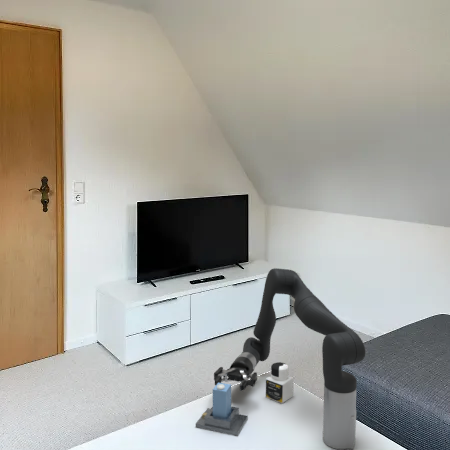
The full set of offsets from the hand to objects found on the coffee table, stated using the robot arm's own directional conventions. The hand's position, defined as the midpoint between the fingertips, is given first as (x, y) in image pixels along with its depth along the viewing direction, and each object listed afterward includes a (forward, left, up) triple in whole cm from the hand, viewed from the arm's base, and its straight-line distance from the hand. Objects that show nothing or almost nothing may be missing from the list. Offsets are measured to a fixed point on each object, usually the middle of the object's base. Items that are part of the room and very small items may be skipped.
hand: (228, 386), depth 157 cm
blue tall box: (0, +6, -8) cm, 10 cm away
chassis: (0, +7, -9) cm, 11 cm away
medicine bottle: (-13, -16, -10) cm, 23 cm away
